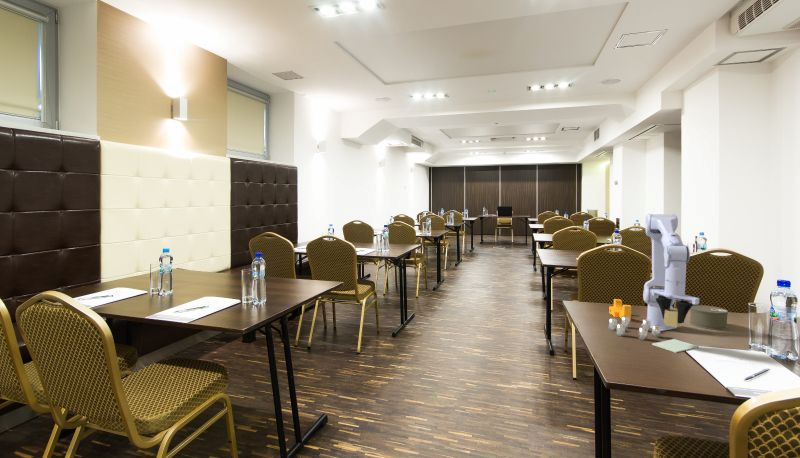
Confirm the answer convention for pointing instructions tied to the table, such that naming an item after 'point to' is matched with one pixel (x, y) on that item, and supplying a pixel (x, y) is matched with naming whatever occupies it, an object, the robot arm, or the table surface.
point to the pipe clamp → (620, 309)
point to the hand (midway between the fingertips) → (673, 320)
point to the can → (708, 317)
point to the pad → (674, 345)
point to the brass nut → (671, 318)
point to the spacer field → (642, 330)
